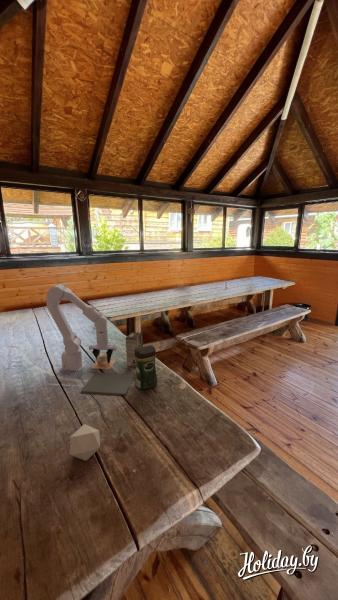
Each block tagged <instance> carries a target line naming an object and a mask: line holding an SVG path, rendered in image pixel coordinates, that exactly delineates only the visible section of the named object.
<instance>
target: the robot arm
mask: <svg viewBox="0 0 338 600" xmlns="http://www.w3.org/2000/svg"><path fill="white" fill-rule="evenodd" d="M61 301H69V302H70V303H72V304H73V305H75V307H78V309H80V310H81V311H82V315H84V316H85V317H86V318H87V319H88V320H89V321H90V322H91V323H94V327H95V335H96V344H90V345H88V350H90V351H91V350H92V352H91V353H92V354H93V356H94V357H95V360H96V361H97V357H98V356H99V354H100V353H101V351H106V352H105V353H106V354H107V362H108V363H110V360H112V359H111V358H112V355H113V352H116V351H117V350H118V346H117V345H112V344H109V335H108V334H109V333H108V325H107V324H108V323H107V322H108V318H107V316H106V315H105V314H103V313H102V312H100V311H98V310H97V309H96V306H94V305H91V304H90V305H89V304H86V303H85V302H84V301H83V300H82V299H81V298H80V297H78V296H77V294H75V292H73V291H72V290H71V289H70V288H69V287H67V286H66V285H65V284H63V283H57V284H55V285H54V286H51V287H50V288H49V290H48V291H47V293H46V309H47V310H48V312H49V314H50V315H51V317H52V320H53V321H54V323H55V325H56V327H57V328H58V331H59V332H60V335H61V336H62V338H63V339H62V340H63V345H64V351H63V352H62V354H61V357H60V358H61V367H62V368H61V370H62V371H78V372H79V371H80V370H81V369H82V368H83V367H84V366H85V365H86V364H87V363H85V362H83V357H82V356H83V354H82V348H81V345H82V339H81V338H80V337H79V336H78V335H77V334H76V333H75V332H74V331H73V329H72V328H71V326H70V324H69V323H70V322H69V321H68V320H67V318H66V316H65V314H64V312H63V310H62V308H61V306H60V303H61Z"/></svg>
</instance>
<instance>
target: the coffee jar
mask: <svg viewBox="0 0 338 600" xmlns="http://www.w3.org/2000/svg"><path fill="white" fill-rule="evenodd" d="M156 351H157V350H156V348H155V346H154V345H153V344H149V345H143V347H139V348H135V351H134V352H135V353H134V357H135V360H136V366H135V370H136V371H135V381H134V382H135V386H136V387H137V388H138V389H139V390H147V389H150V388H153V387H155V386H157V384H158V376H157V368H156V357H157V352H156Z"/></svg>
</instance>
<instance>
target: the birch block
mask: <svg viewBox="0 0 338 600" xmlns="http://www.w3.org/2000/svg"><path fill="white" fill-rule="evenodd" d="M96 362H97V364H98V366H106V367H107V366H108V364H109V363H108V362H107V354H106V352H105V353H104V352H100V354H99V356H98V357H97V360H96Z"/></svg>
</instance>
